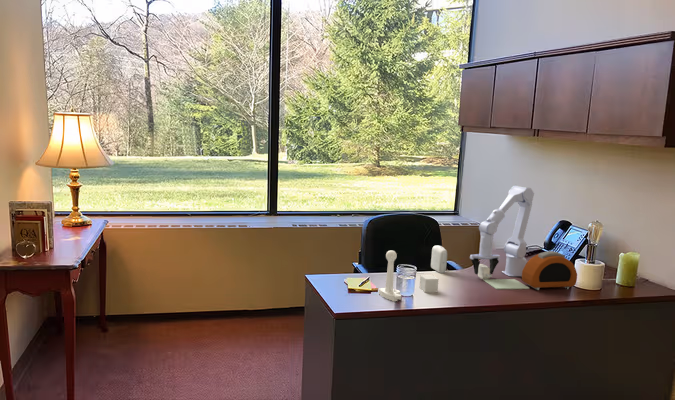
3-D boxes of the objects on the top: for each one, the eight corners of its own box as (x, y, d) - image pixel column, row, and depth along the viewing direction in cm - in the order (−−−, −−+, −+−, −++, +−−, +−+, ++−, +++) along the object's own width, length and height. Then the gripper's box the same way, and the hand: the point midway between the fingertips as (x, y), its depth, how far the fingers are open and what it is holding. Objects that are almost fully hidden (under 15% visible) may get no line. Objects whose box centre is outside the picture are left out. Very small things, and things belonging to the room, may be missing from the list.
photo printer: (447, 272, 256) (448, 248, 254) (439, 273, 255) (441, 248, 253) (437, 267, 266) (438, 243, 264) (429, 267, 265) (431, 243, 263)
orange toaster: (531, 290, 234) (535, 254, 231) (520, 284, 242) (523, 249, 240) (576, 289, 239) (580, 254, 237) (563, 283, 248) (567, 249, 245)
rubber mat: (514, 280, 249) (514, 279, 249) (529, 288, 236) (529, 287, 236) (483, 280, 246) (483, 279, 246) (496, 289, 234) (496, 288, 233)
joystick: (376, 294, 220) (379, 247, 217) (390, 291, 224) (393, 246, 221) (392, 302, 210) (395, 254, 207) (407, 299, 214) (410, 252, 212)
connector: (482, 275, 255) (483, 264, 254) (492, 281, 245) (493, 270, 244) (476, 275, 255) (477, 264, 254) (486, 281, 244) (487, 270, 243)
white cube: (424, 292, 225) (425, 279, 224) (419, 288, 230) (420, 275, 230) (437, 292, 226) (438, 278, 225) (431, 287, 232) (432, 274, 231)
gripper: (475, 248, 243) (473, 276, 245) (504, 248, 246) (501, 276, 248) (469, 244, 250) (466, 271, 252) (497, 244, 253) (494, 271, 255)
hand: (483, 273), depth 251 cm, fingers open, 7 cm apart
